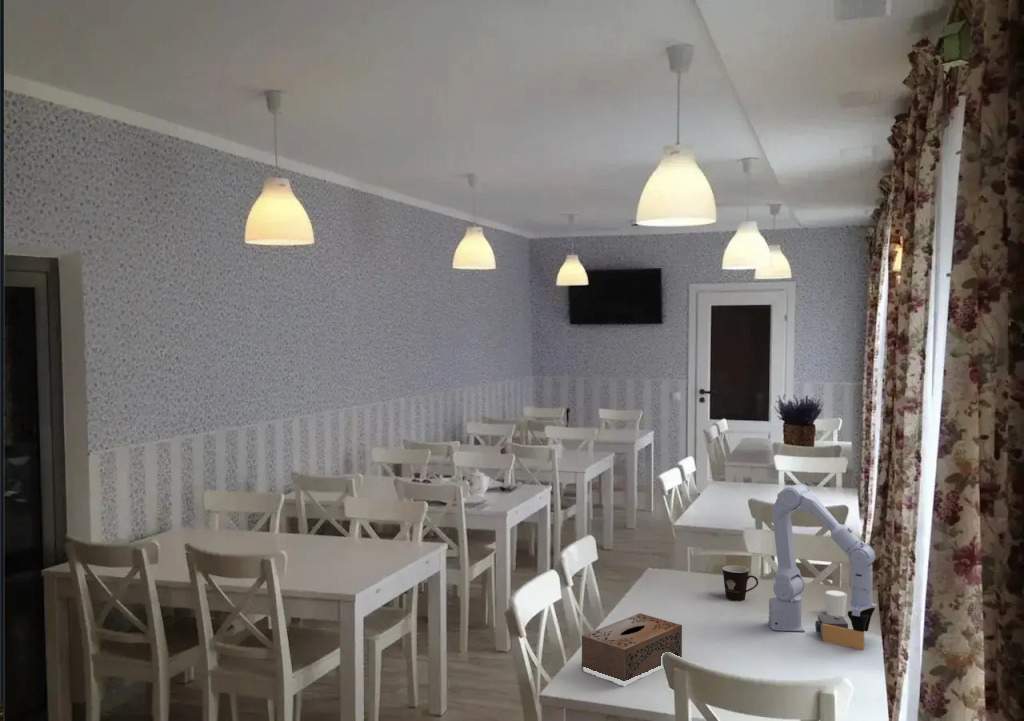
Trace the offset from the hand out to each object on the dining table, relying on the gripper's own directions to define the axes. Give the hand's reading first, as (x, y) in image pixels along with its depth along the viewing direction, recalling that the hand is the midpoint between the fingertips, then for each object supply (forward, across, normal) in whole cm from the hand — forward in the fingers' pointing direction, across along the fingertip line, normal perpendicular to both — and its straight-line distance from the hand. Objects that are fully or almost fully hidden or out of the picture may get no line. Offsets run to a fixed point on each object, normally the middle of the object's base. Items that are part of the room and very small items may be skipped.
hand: (861, 633), depth 253 cm
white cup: (+3, +22, +13) cm, 26 cm away
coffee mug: (+3, +20, +44) cm, 48 cm away
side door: (+3, -4, +4) cm, 7 cm away
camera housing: (+3, +2, +8) cm, 9 cm away
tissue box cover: (+3, -52, +48) cm, 70 cm away
